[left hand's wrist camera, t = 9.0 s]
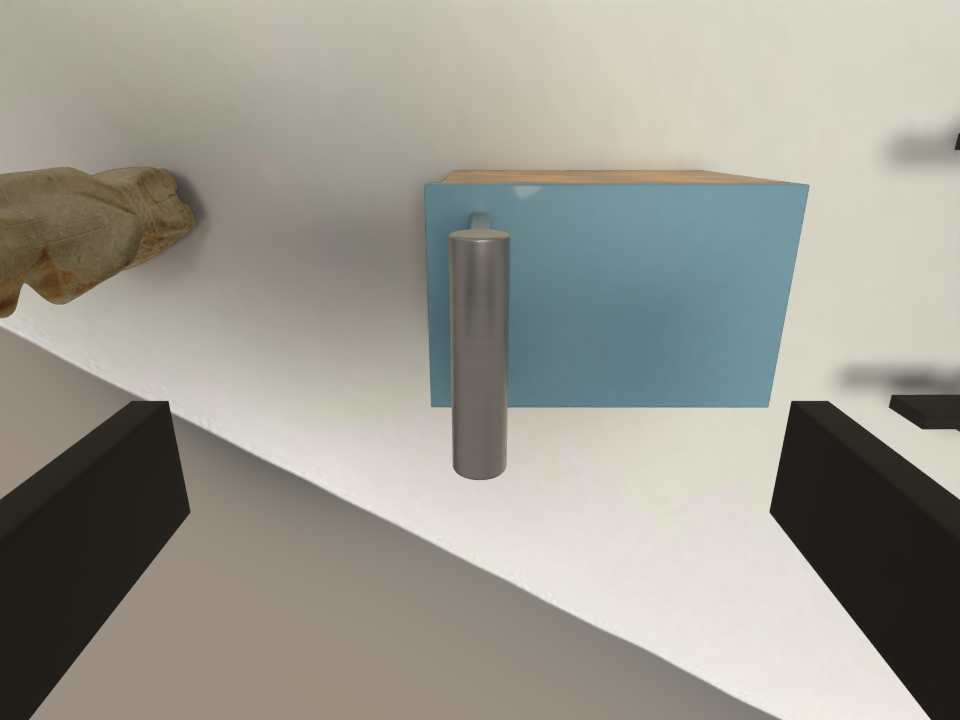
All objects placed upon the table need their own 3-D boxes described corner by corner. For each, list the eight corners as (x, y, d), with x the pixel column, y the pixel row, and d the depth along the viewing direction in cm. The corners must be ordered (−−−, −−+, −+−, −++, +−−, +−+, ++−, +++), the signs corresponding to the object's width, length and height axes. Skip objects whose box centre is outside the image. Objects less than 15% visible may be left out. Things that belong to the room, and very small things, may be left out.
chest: (454, 329, 37) (445, 395, 28) (452, 170, 34) (440, 182, 24) (684, 329, 37) (755, 395, 28) (703, 170, 34) (793, 182, 24)
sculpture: (65, 186, 34) (-227, 219, 20) (176, 143, 33) (-46, 146, 19) (118, 281, 36) (-114, 371, 22) (225, 242, 35) (55, 311, 21)
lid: (433, 396, 28) (412, 505, 19) (427, 182, 24) (398, 204, 16) (756, 396, 27) (873, 505, 19) (793, 182, 24) (955, 204, 16)
